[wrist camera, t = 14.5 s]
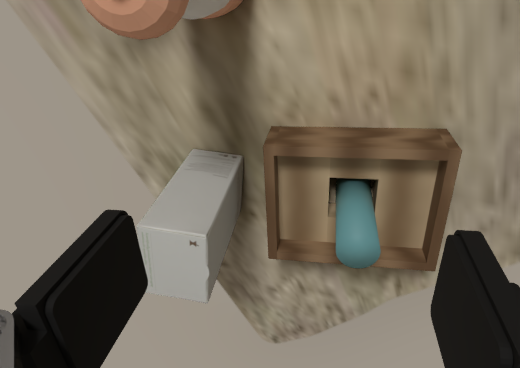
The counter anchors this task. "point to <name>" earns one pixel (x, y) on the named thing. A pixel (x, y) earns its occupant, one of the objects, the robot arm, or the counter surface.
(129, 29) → the salt shaker
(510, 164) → the counter surface
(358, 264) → the peg
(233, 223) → the skincare box
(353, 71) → the counter surface
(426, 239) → the box
